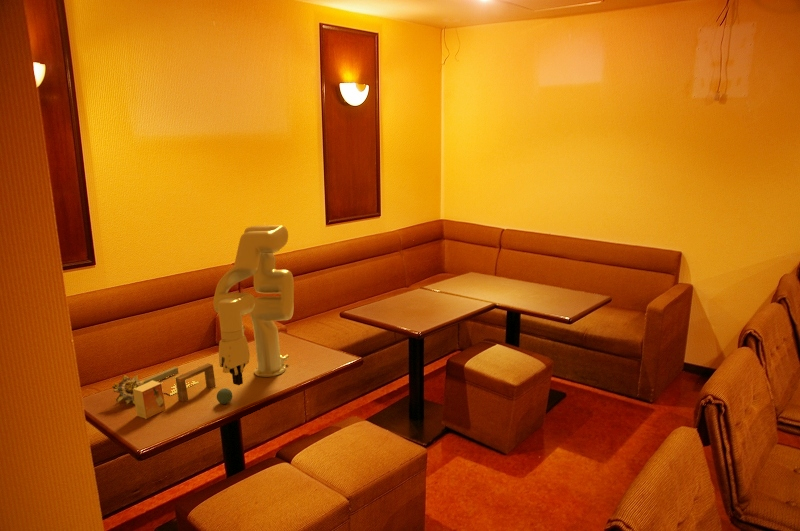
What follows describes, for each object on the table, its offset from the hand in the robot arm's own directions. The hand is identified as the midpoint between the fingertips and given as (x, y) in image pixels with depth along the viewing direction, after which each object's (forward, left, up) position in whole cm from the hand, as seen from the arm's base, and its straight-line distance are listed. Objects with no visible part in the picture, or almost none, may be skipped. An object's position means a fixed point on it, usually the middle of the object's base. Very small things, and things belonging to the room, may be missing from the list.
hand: (238, 383), depth 197 cm
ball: (-1, -9, -7) cm, 12 cm away
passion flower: (+15, -43, -10) cm, 47 cm away
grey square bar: (-1, -49, -10) cm, 50 cm away
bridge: (-1, -25, -10) cm, 27 cm away
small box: (+17, -27, -10) cm, 34 cm away
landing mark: (-1, -39, -10) cm, 41 cm away
